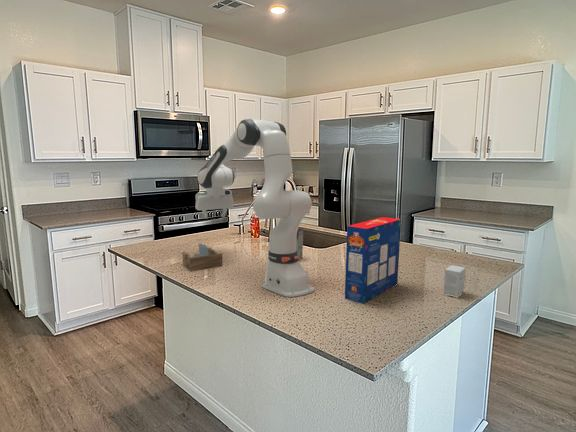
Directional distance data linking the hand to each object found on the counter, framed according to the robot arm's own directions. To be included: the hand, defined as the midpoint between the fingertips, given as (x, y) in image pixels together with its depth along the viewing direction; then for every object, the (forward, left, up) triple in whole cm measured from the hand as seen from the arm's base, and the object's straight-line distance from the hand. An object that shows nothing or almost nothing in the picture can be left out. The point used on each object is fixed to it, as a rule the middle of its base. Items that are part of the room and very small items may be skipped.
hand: (214, 217), depth 202 cm
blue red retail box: (-84, -32, -20) cm, 92 cm away
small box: (-103, -57, -20) cm, 119 cm away
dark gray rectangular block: (-15, +13, -20) cm, 28 cm away
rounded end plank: (0, +6, -20) cm, 21 cm away
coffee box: (-28, -31, -20) cm, 46 cm away
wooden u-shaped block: (-14, +13, -20) cm, 28 cm away
